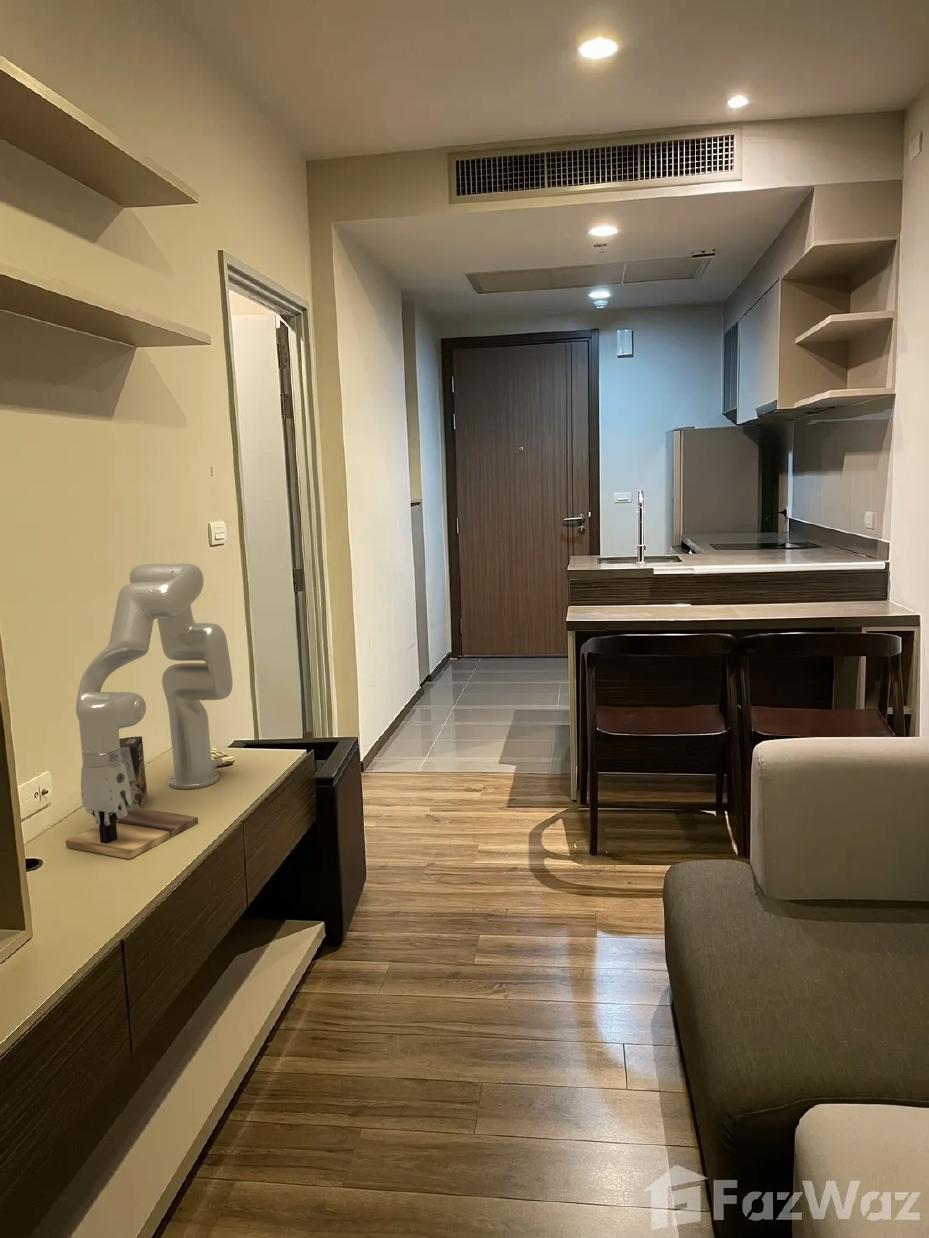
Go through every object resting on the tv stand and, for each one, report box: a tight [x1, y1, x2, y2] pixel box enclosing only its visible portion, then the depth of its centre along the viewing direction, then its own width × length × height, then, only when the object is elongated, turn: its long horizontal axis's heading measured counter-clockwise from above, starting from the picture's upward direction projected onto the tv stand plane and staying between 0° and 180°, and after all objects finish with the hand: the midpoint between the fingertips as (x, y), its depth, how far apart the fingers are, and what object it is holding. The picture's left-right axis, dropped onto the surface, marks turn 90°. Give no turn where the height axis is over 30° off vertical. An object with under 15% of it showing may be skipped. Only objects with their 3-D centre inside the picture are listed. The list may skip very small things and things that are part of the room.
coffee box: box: [119, 736, 148, 812], centre depth 212 cm, size 9×6×16 cm
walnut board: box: [116, 807, 199, 838], centre depth 200 cm, size 8×18×2 cm, turn 66°
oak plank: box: [65, 823, 171, 860], centre depth 190 cm, size 12×18×2 cm, turn 66°
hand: (109, 840), depth 188 cm, fingers closed
